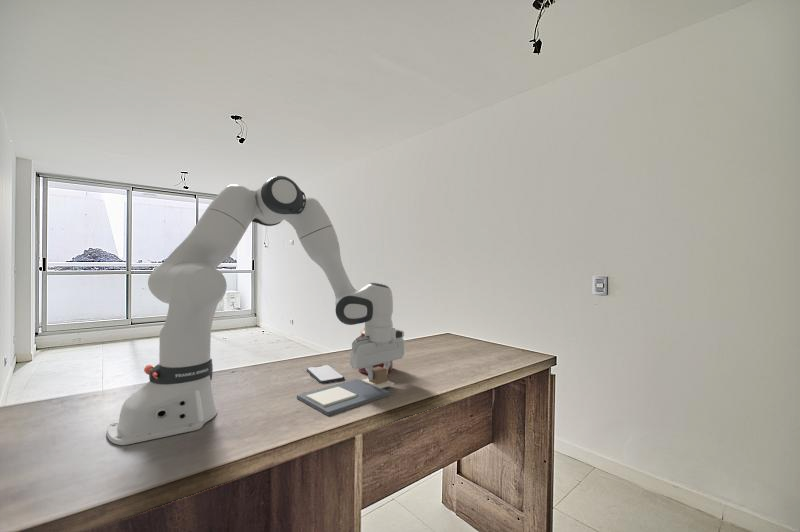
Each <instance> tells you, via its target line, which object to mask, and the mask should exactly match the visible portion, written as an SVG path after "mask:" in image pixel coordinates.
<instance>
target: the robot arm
mask: <svg viewBox="0 0 800 532" xmlns="http://www.w3.org/2000/svg"><path fill="white" fill-rule="evenodd" d="M284 220H285V221H286V222H287V223H289V225H291V227H293V229H294V230H295V232H296V235H297V238H298V240H299V242H300V245H301V246H302V248H303V249H304V251H305V253H306V254H307V255H308V257H309V258H310V259H311V260H312V261H313V262H314V263H316V265H318V266H319V267H320V269H322V271H323V272H324V274H325V276H326V278H327V280H328V282H329V284H330V285H331V289H332V290H333V293H334V296H335V315H336V318H337V319H338V320H339V321H340V322H341V323H342V324H345V325H348V326H355V325H359V324H364V328H365V336H364V337H359V336H358V337H356V338H355V339H354V340H353V341H352V343H351V350H350V358H349V365H350V366H351V368H353V369H355V370H358V369H362V368H365V369H366V371H367V373H368V374H367V378H368V379H370V380H372V379H375V373H373V372H372V370H371V369H373V366H374V365H378V364H382V363H383V364H384V367H383V368H385V369H387V376H388V374H389V373H388V369H389V367H390V365H391V361H392V362H393V361H396V360H401V359H403V357H404V355H405V340H404V337H405V332H404V331H403V330H400V329H396V328H395V327H393V320H392V315H393V311H394V301H393V292H392V289H391V288H390V287H389V286H388V285H386V284H382V283H377V282H369V283H367V284H366V285H365V286H364V287H362V288H360V289H357V290H356V289H355V288H354V286H353V285H352V283H351V281H350V279H349V276H348V274H347V271H346V270H345V268H344V265H343V262H342V257H341V249H340V248H341V247H340V244H339V238H338V235H337V233H336V232H337V231H336V229H335V228H334V225H333V224H332V222H331V219H330V217H329V216H328V213H327V212H326V210H325V209H324V207H323V205H322V204H321V203H320V202H319V200H318V199H316V198H314V197H306V194H305V192H304V191H303V190H301V188H300V186H299V185H298V184H297V183H296V182H295V181H294V180H292V179H291V178H290V177H287V176H284V175H277V176H272V177H271V178H268V179H267V180H266V181H265V182H264V183H263V184H262V186H260V188H258V189H257V190H252V189H251V190H250V189H249V188H247V187H246V186H244V185H240V184H235V183H234V184H229V185H227V186H225V188H223V190H221V191H220V192H219V193H218V194H217V195H216V196H215V197H214V199H213V200H212V201H211V203H209V205H208V207H207V208H206V209H205V211H204V212H203V213H202V215H201V216H200V218H199V220H198V221H197V223H196V225H195V226H194V227H193V228H192V230H191V231H190V233H189V234H188V235H187V236H186V238H184V240H183V241H182V242H181V243H180V244H179V245H178V246H177V247H176V248H175V249H174V250H173V251H172V252H171V253H170V255H168V256H167V257H166V258H165V260H164V261H163V262H162V263H161V264H160V265H159V266H157V267H156V268H154V269H153V271H151V273H150V274H149V277H148V280H147V286H148V289H149V291H150V293H151V294H152V296H154V298H156V299H158V300H159V301H160V302H162V303H165V304H168V310H167V315H166V319H165V322H164V324H163V327H162V328H161V329H160V331H159V363H158V364H156V365H155V366H153V365H152V364H147V365H145V366H144V367H143V368H144V369H143V372H144V373H145V374H146V375H149V376H148V378H149V381H148V382H147V383H145V384H144V385H143V386H141V388H140V389H138V390H137V391H135V392H134V393H133V394H132V395H130V396H129V397H127V398H126V400H124V401H123V404H122V406H121V409H120V413H119V417H118V418H119V419H116V420H113V421H112V422H111V423H110V424H109V425H108V426H107V431H106V436H107V439H108V441H110V442H111V443H113V444H115V445H119V446H126V445H127V446H128V445H131V444H136V443H142V442H146V441H151V440H152V441H153V440H155V439H160V438H164V437H165V438H166V437H169V436H174V435H179V434H183V433H189V432H194V431H199V430H200V429H201V428H203V426H204V425H205V424H206V423H207V422H209V421H210V420H212V419H214V417H216V416H217V413H218V410H217V408H216V405H215V401H214V396H213V394H214V393H213V389H212V380H213V375H214V373H213V372H214V369H213V368H214V367H213V366H214V365H213V359H212V358H211V343H212V342H211V338H212V337H211V334H212V333H211V332H212V326H213V321H214V318H215V315H216V310H217V307H218V305H219V303H220V302H221V301H222V300H223V298H224V296H225V295H226V293H227V279H226V278H225V276H224V273H222V272H221V271H220V270H218V269H217V268H218V267H219V266H220V265H221V264H222V263H223V262H225V261H226V260H227V259H229V258H230V257H231V256H232V255H233V253H234V252H235V249H236V248H237V247H238V245H239V243H240V241H241V240H242V239H243V236H244V235H245V233H246V232H247V229H248V228H249V226H250V224H252V223H256V224H259V225H262V226H266V227H267V226H268V227H273V226H277V225H278V224H281V223H282V222H283V221H284Z"/></svg>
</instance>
